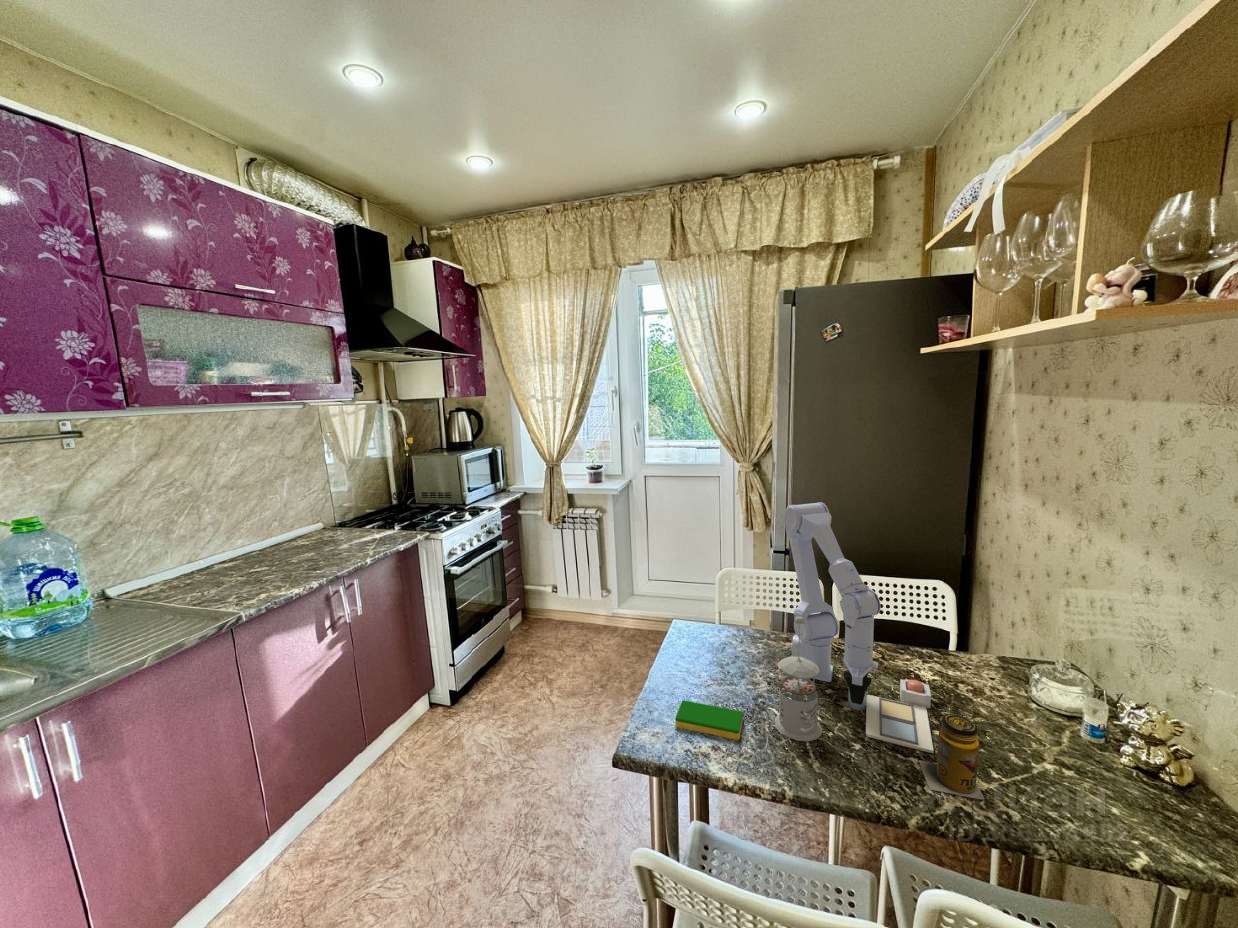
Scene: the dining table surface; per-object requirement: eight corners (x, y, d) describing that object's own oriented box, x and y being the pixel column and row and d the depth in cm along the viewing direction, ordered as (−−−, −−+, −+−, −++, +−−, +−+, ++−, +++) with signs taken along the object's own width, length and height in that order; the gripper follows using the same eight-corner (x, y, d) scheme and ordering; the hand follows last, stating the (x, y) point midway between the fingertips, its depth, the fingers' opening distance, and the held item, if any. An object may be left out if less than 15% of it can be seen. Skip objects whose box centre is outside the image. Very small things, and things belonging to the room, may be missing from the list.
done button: (907, 697, 113) (908, 685, 113) (907, 690, 116) (907, 678, 115) (922, 700, 112) (923, 688, 111) (921, 693, 114) (922, 681, 114)
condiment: (985, 800, 85) (989, 737, 84) (929, 790, 88) (933, 729, 86) (969, 770, 92) (973, 711, 91) (918, 761, 95) (921, 704, 93)
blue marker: (847, 707, 112) (848, 679, 111) (848, 698, 115) (849, 671, 114) (865, 712, 110) (866, 683, 109) (865, 702, 113) (866, 674, 112)
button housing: (901, 702, 113) (901, 690, 112) (899, 689, 118) (900, 677, 117) (930, 709, 110) (931, 697, 110) (928, 695, 115) (928, 683, 115)
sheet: (865, 736, 102) (866, 732, 102) (866, 696, 115) (866, 693, 115) (933, 753, 97) (933, 749, 97) (926, 710, 110) (926, 706, 110)
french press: (766, 727, 106) (767, 618, 103) (789, 702, 114) (790, 600, 111) (811, 747, 99) (813, 632, 96) (832, 719, 108) (834, 612, 104)
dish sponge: (739, 741, 102) (739, 731, 102) (675, 728, 107) (674, 718, 107) (743, 721, 109) (743, 711, 109) (682, 709, 114) (682, 699, 114)
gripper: (879, 661, 102) (876, 721, 104) (878, 631, 115) (876, 685, 117) (842, 654, 105) (840, 712, 107) (845, 626, 118) (844, 678, 120)
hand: (857, 697), depth 112 cm, fingers closed on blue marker, 4 cm apart
